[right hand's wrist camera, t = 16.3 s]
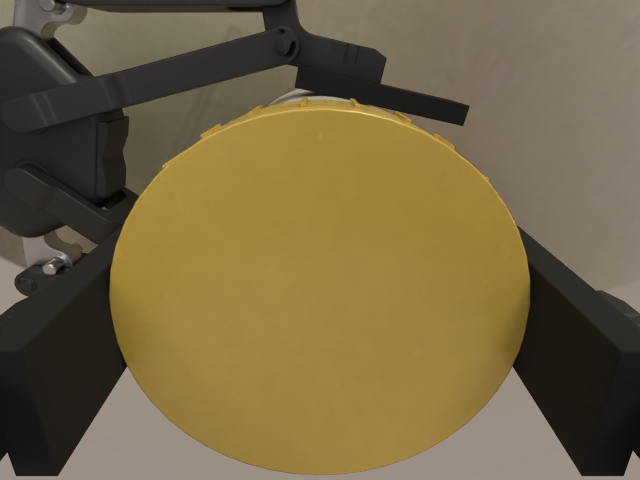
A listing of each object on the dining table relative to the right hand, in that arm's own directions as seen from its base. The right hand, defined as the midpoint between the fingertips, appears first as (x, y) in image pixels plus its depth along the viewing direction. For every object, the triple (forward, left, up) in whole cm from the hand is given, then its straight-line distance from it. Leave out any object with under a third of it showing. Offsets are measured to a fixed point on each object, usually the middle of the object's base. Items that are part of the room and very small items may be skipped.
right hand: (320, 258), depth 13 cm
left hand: (+3, +4, -6) cm, 8 cm away
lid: (0, 0, +3) cm, 3 cm away
